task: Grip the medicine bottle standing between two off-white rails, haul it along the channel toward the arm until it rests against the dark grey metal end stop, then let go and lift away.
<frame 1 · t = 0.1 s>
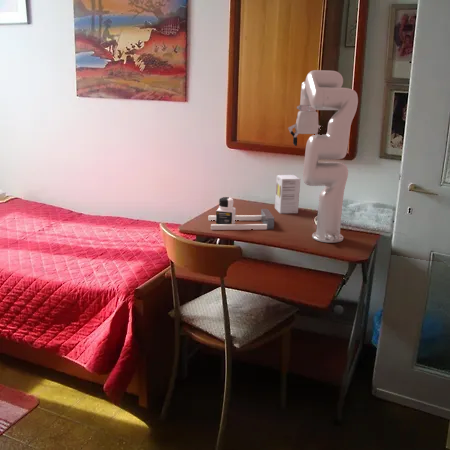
hand: (305, 145, 254), 31 cm above the table, tool pointing down, fingers open, 9 cm apart
supplement box: (286, 211, 259), on the table
medicine bottle: (225, 225, 235), on the table
guide rails: (236, 224, 235), on the table
end stop: (267, 224, 237), on the table
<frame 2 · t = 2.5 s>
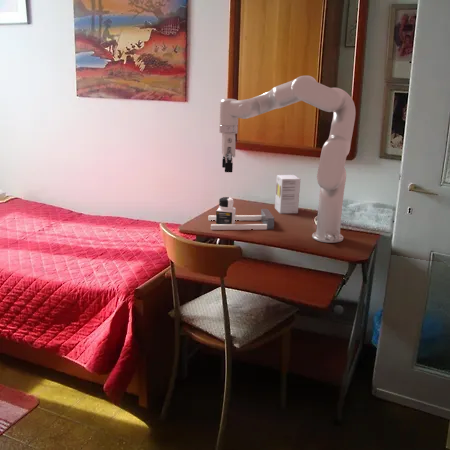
hand: (227, 169, 228), 24 cm above the table, tool pointing down, fingers open, 9 cm apart
nothing on the table moved.
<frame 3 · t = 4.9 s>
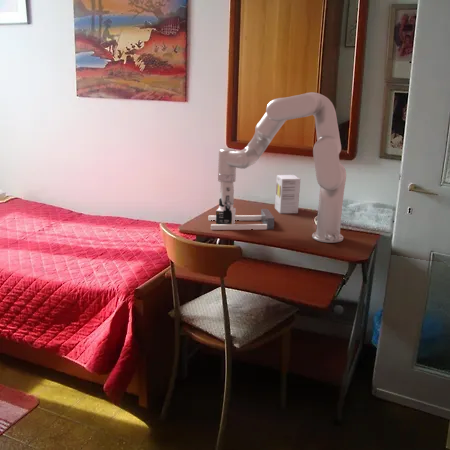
hand: (225, 216, 234), 4 cm above the table, tool pointing down, fingers closed on medicine bottle, 9 cm apart
medicine bottle: (225, 224, 235), on the table, touching gripper
everything else where it was.
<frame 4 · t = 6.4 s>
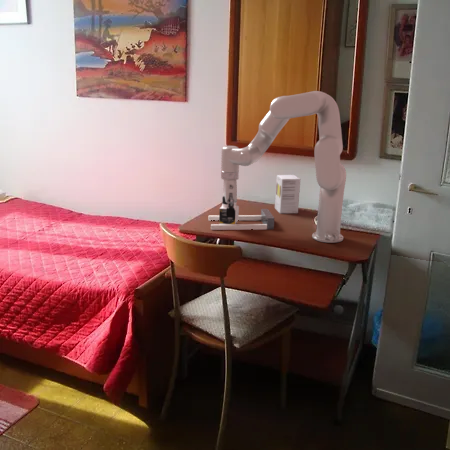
hand: (229, 214, 233), 5 cm above the table, tool pointing down, fingers closed on medicine bottle, 9 cm apart
medicine bottle: (228, 222, 234), point 1 cm above the table, touching gripper
everything else where it was.
when the fingers open (5 cm above the table, at t = 8.1 s): medicine bottle drops 1 cm, on the table.
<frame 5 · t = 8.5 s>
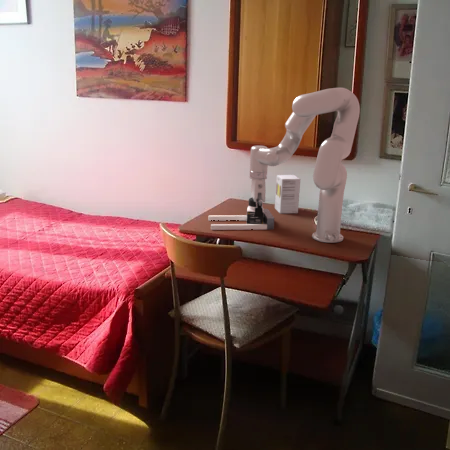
hand: (256, 213, 235), 5 cm above the table, tool pointing down, fingers open, 8 cm apart
medicine bottle: (254, 224, 236), on the table, touching gripper
everything else where it was.
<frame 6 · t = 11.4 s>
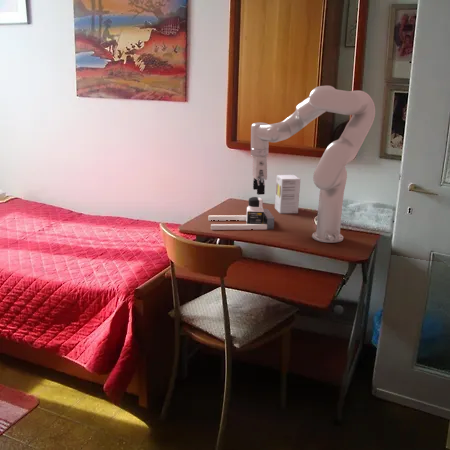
hand: (258, 191, 231), 15 cm above the table, tool pointing down, fingers open, 9 cm apart
medicine bottle: (254, 224, 236), on the table
everything else where it was.
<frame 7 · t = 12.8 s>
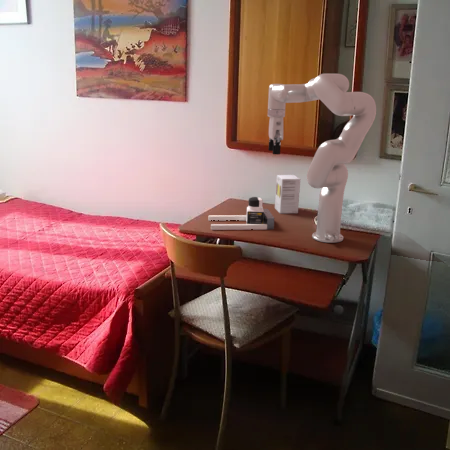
hand: (274, 152, 238), 30 cm above the table, tool pointing down, fingers open, 9 cm apart
nothing on the table moved.
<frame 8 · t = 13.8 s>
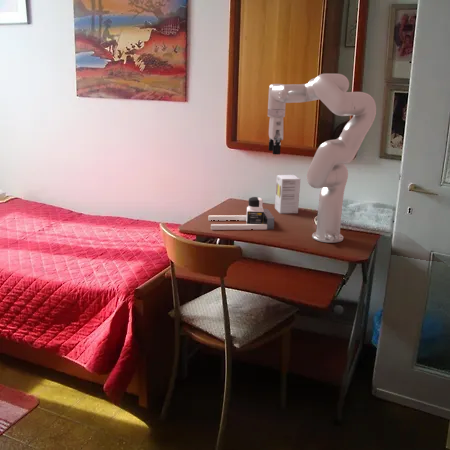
hand: (274, 152, 238), 30 cm above the table, tool pointing down, fingers open, 9 cm apart
nothing on the table moved.
at the end: medicine bottle 0.4 cm from the target spot on the table beside the end stop, on the table; medicine bottle tilted 0°; the gripper is holding nothing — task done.
